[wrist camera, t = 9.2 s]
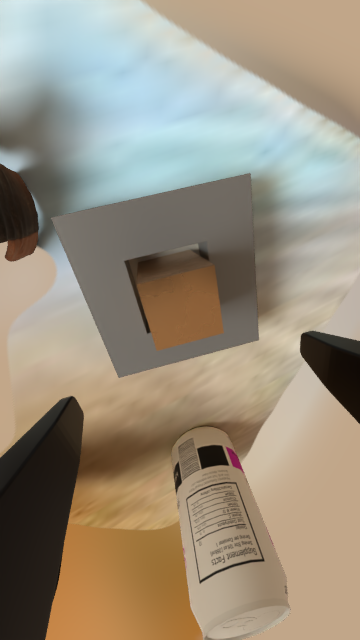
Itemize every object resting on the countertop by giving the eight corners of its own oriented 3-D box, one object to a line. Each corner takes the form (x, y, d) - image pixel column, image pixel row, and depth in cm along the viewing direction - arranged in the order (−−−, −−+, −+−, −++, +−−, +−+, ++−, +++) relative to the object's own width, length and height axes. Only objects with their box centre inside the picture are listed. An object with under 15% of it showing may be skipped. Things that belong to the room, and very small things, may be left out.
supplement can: (239, 430, 30) (318, 599, 17) (208, 467, 33) (255, 641, 19) (190, 416, 28) (237, 604, 14) (160, 458, 30) (175, 652, 17)
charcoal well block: (242, 323, 23) (258, 340, 20) (121, 355, 22) (118, 377, 19) (230, 181, 17) (250, 173, 14) (67, 218, 17) (50, 217, 13)
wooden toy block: (198, 298, 21) (223, 333, 14) (151, 310, 20) (156, 351, 14) (189, 249, 19) (214, 264, 12) (137, 262, 18) (136, 284, 12)
